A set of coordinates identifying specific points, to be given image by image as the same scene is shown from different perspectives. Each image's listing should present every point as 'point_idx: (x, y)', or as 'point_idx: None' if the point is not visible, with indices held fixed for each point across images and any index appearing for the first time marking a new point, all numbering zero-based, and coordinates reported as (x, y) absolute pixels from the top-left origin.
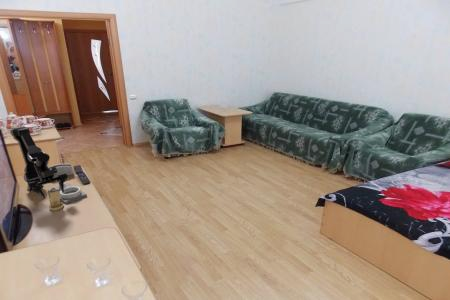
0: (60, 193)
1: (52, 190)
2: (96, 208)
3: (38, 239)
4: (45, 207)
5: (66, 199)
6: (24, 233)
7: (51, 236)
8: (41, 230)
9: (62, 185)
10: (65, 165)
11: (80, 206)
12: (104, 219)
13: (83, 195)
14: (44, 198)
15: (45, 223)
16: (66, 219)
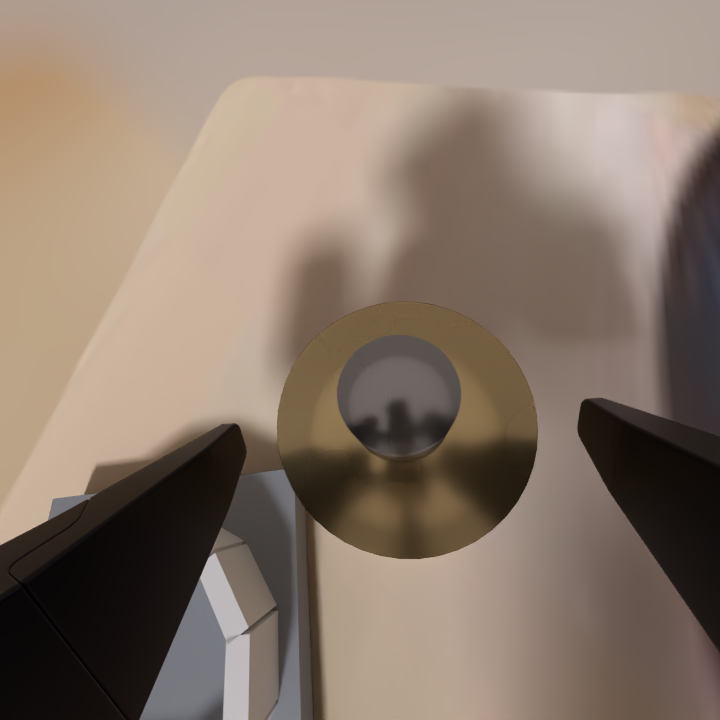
0: (248, 709)
1: (426, 353)
2: (183, 235)
3: (607, 99)
4: (513, 572)
5: (261, 528)
6: (715, 194)
7: (529, 94)
8: (585, 172)
9: (97, 504)
10: None
11: (237, 332)
12: (233, 112)
13: (92, 495)
14: (589, 424)
15: (549, 241)
16: (399, 212)
